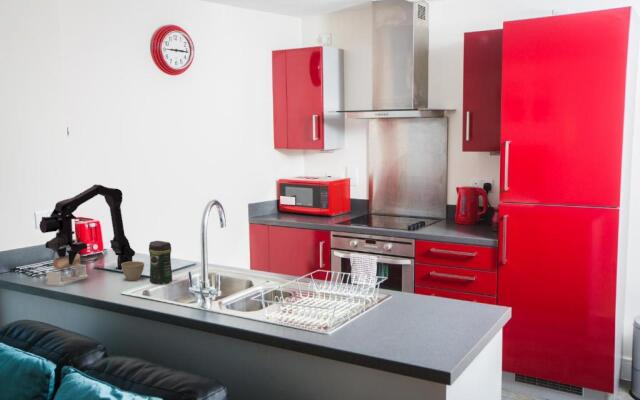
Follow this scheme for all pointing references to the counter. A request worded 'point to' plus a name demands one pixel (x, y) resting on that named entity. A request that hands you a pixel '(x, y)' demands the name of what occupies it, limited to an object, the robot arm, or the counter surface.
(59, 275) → the stand
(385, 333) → the counter surface
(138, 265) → the flower pot
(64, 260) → the tan wooden bar
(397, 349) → the counter surface
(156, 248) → the coffee jar
